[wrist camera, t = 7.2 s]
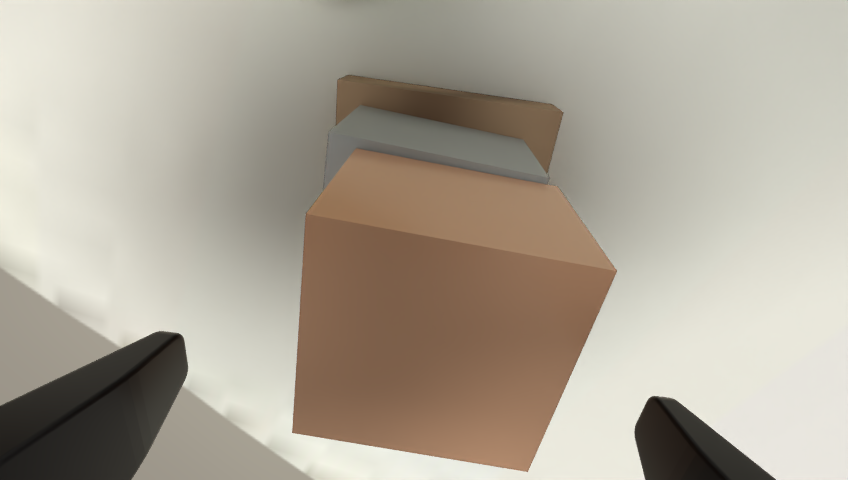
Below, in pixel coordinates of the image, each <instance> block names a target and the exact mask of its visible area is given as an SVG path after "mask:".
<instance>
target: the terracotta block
mask: <svg viewBox="0 0 848 480" xmlns="http://www.w3.org/2000/svg"><path fill="white" fill-rule="evenodd" d="M616 272H617V270H616V269H615V267H614V266H613V265H612V263H611V262H610V260H609V259H608V257H607V256H606V255H605V253H604V252H603V250H602V249H601V248H600V246H599V245H598V243H597V242H596V240H595V239H594V238H593V236H592V235H591V233H590V232H589V230H588V229H587V228H586V226H585V225H584V223H583V222H582V220H581V219H580V218H579V216H578V215H577V213H576V212H575V210H574V209H573V208H572V206H571V205H570V203H569V202H568V200H567V199H566V198H565V196H564V195H563V193H562V192H561V190H560V189H559V188H558V187H557V186H552V185H547V184H542V183H536V182H531V181H526V180H521V179H515V178H510V177H505V176H500V175H494V174H489V173H484V172H479V171H473V170H468V169H463V168H458V167H452V166H447V165H442V164H437V163H431V162H426V161H421V160H416V159H410V158H405V157H400V156H395V155H389V154H384V153H379V152H374V151H368V150H363V149H358V148H356V149H355V150H354V151H353V153H352V154H351V155H350V157H349V158H348V159H347V161H346V162H345V163H344V164H343V166H342V167H341V168H340V170H339V171H338V172H337V174H336V175H335V176H334V178H333V179H332V180H331V181H330V183H329V184H328V185H327V187H326V188H325V189H324V191H323V192H322V193H321V195H320V196H319V197H318V198H317V200H316V201H315V202H314V204H313V205H312V206H311V208H310V209H309V210H308V212H307V213H306V219H305V235H304V251H303V268H302V284H301V300H300V316H299V332H298V349H297V365H296V381H295V397H294V413H293V430H292V433H296V434H303V435H309V436H315V437H321V438H327V439H333V440H339V441H345V442H351V443H357V444H363V445H369V446H375V447H381V448H387V449H393V450H399V451H405V452H411V453H417V454H423V455H429V456H435V457H441V458H447V459H453V460H460V461H466V462H472V463H478V464H484V465H490V466H496V467H502V468H508V469H514V470H520V471H526V472H528V470H529V468H530V466H531V463H532V461H533V459H534V457H535V454H536V452H537V450H538V448H539V445H540V443H541V441H542V439H543V436H544V434H545V432H546V430H547V427H548V425H549V423H550V421H551V418H552V416H553V414H554V412H555V410H556V407H557V405H558V403H559V401H560V398H561V396H562V394H563V392H564V389H565V387H566V385H567V383H568V380H569V378H570V376H571V374H572V371H573V369H574V367H575V365H576V362H577V360H578V358H579V356H580V353H581V351H582V349H583V347H584V344H585V342H586V340H587V338H588V335H589V333H590V331H591V329H592V326H593V324H594V322H595V320H596V317H597V315H598V313H599V311H600V308H601V306H602V304H603V302H604V299H605V297H606V295H607V293H608V290H609V288H610V286H611V284H612V281H613V279H614V277H615V275H616Z"/></svg>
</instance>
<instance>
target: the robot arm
mask: <svg viewBox="0 0 848 480" xmlns="http://www.w3.org/2000/svg"><path fill="white" fill-rule="evenodd" d="M187 372H188V362H187V356H186V349H185V342H184V338H183V336H182V335H181V334H179V333H173V332H165V331H159V332H155V333H153V334H151V335H149V336H147V337H145V338H142V339H140V340H138V341H136V342H134V343H132V344H130V345H128V346H126V347H123V348H121V349H119V350H117V351H115V352H113V353H111V354H109V355H107V356H104V357H102V358H100V359H98V360H96V361H94V362H92V363H90V364H88V365H85V366H83V367H81V368H79V369H77V370H75V371H73V372H71V373H68V374H66V375H64V376H62V377H60V378H58V379H56V380H54V381H52V382H49V383H47V384H45V385H43V386H41V387H39V388H37V389H35V390H32V391H30V392H28V393H26V394H24V395H22V396H20V397H18V398H15V399H13V400H11V401H9V402H7V403H5V404H3V405H1V406H0V480H131V479H132V478H133V476H134V475H135V473H136V472H137V470H138V468H139V467H140V465H141V464H142V462H143V460H144V459H145V457H146V455H147V453H148V452H149V449H150V448H151V446H152V444H153V442H154V440H155V438H156V436H157V434H158V432H159V430H160V428H161V426H162V424H163V422H164V420H165V419H166V417H167V415H168V413H169V411H170V409H171V407H172V405H173V403H174V401H175V399H176V397H177V395H178V392H179V391H180V389H181V387H182V385H183V383H184V381H185V379H186V376H187ZM635 440H636V444H637V448H638V452H639V456H640V460H641V464H642V468H643V472H644V476H645V480H776V479H775V478H773V477H772V476H771V475H770V474H768V473H767V472H766V471H765V470H763V469H762V468H761V467H760V466H758V465H757V464H756V463H755V462H753V461H752V460H751V459H749V458H748V457H747V456H746V455H744V454H743V453H742V452H741V451H739V450H738V449H737V448H736V447H734V446H733V445H732V444H731V443H729V442H728V441H727V440H726V439H724V438H723V437H722V436H721V435H719V434H718V433H717V432H716V431H714V430H713V429H712V428H711V427H709V426H708V425H707V424H706V423H704V422H703V421H702V420H700V419H699V418H698V417H697V416H695V415H694V414H693V413H692V412H690V411H689V410H688V409H687V408H685V407H684V406H683V405H682V404H680V403H679V402H678V401H676V400H675V399H672V398H667V397H659V396H652V397H650V398H649V399H648V401H647V402H646V404H645V407H644V409H643V411H642V413H641V415H640V417H639V419H638V421H637V423H636V426H635Z"/></svg>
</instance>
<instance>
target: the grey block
mask: <svg viewBox="0 0 848 480" xmlns="http://www.w3.org/2000/svg"><path fill="white" fill-rule="evenodd" d="M356 148H358V149H363V150H368V151H374V152H379V153H384V154H389V155H395V156H400V157H405V158H410V159H416V160H421V161H426V162H431V163H437V164H442V165H447V166H452V167H458V168H463V169H468V170H473V171H479V172H484V173H489V174H494V175H500V176H505V177H510V178H515V179H521V180H526V181H531V182H536V183H542V184H548V181H549V176H548V175H547V173H546V172H545V170H544V169H543V167H542V166H541V165H540V163H539V162H538V160H537V159H536V157H535V156H534V154H533V153H532V151H531V150H530V148H529V147H528V146H527V144H526V143H525V141H524V140H523V139H518V138H514V137H509V136H504V135H499V134H495V133H490V132H485V131H481V130H476V129H471V128H467V127H462V126H457V125H452V124H448V123H443V122H438V121H434V120H429V119H424V118H419V117H415V116H410V115H405V114H401V113H396V112H391V111H387V110H382V109H377V108H372V107H368V106H363V105H360V106H358V107H357V108H356V109H355V110H354V111H353V112H351V113H350V114H349V115H348V116H347V117H345V118H344V119H343V120H342V121H341V122H340V123H338V124H337V125H336V126H335V127H334V128H332V129H331V130H330V131H329V135H328V145H327V155H326V165H325V175H324V186H323V191H324V189H325V188H326V187H327V185H328V184H329V183H330V181H331V180H332V179H333V178H334V176H335V175H336V174H337V172H338V171H339V170H340V168H341V167H342V166H343V164H344V163H345V162H346V161H347V159H348V158H349V157H350V155H351V154H352V153H353V151H354V150H355V149H356Z"/></svg>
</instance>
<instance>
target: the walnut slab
mask: <svg viewBox="0 0 848 480" xmlns="http://www.w3.org/2000/svg"><path fill="white" fill-rule="evenodd" d="M360 105H363V106H368V107H372V108H377V109H382V110H387V111H391V112H396V113H401V114H405V115H410V116H415V117H419V118H424V119H429V120H434V121H438V122H443V123H448V124H452V125H457V126H462V127H467V128H471V129H476V130H481V131H485V132H490V133H495V134H499V135H504V136H509V137H514V138H518V139H523V140H524V141H525V143H526V144H527V146H528V147H529V148H530V150H531V151H532V153H533V154H534V156H535V157H536V159H537V160H538V162H539V163H540V165H541V166H542V167H543V169H544V170H545V172H546V173H547V172H548V168H549V165H550V161H551V157H552V153H553V150H554V146H555V142H556V138H557V135H558V131H559V127H560V123H561V120H562V116H563V112H562V111H561V110H560V109H558V108H557V107H555V106H554V105H552V104H547V103H540V102H533V101H526V100H519V99H512V98H505V97H498V96H491V95H484V94H477V93H470V92H464V91H457V90H450V89H443V88H436V87H429V86H422V85H415V84H408V83H401V82H394V81H387V80H380V79H373V78H366V77H359V76H352V75H347V76H345V77H343V78H340V79H338V80H337V106H336V125H337V124H338V123H340V122H341V121H342V120H343V119H344V118H345V117H347V116H348V115H349V114H350V113H351V112H353V111H354V110H355V109H356V108H357V107H358V106H360Z"/></svg>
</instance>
